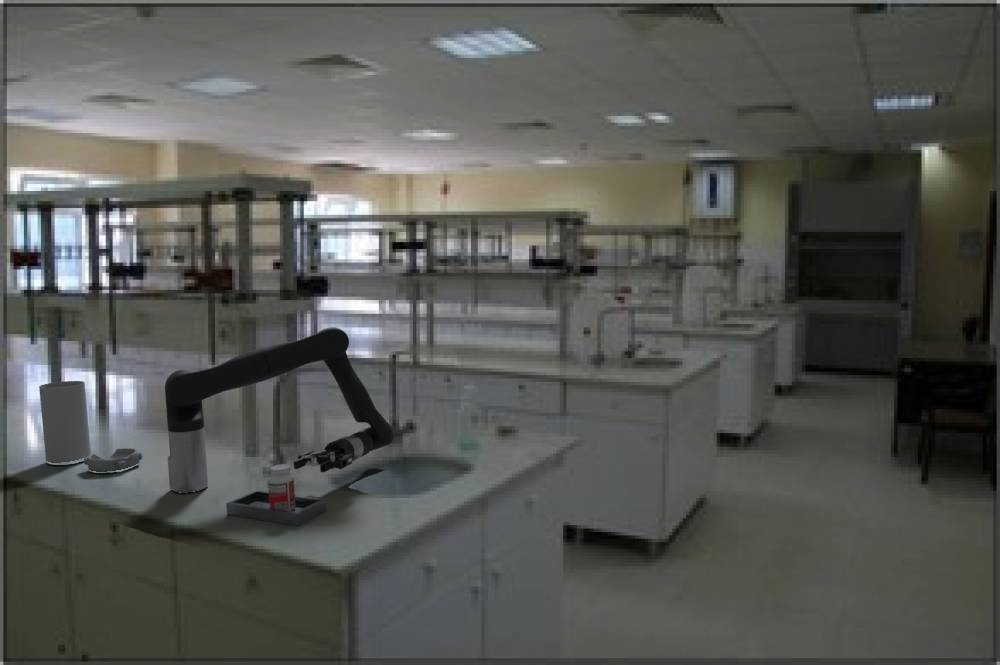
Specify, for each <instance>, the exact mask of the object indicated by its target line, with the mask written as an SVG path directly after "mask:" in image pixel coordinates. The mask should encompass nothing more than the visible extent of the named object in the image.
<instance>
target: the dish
mask: <svg viewBox="0 0 1000 665" xmlns="http://www.w3.org/2000/svg"><path fill="white" fill-rule="evenodd" d="M141 460H143V453H142V452H140V451H138V449H136V448H131V447H124V448H123V447H122V448H116V449H115V451H114V453H113V454H111V455H110V456H109V457H104V458H102V457H100V456H98V455H97V454H95V453H91V455H89V456H88V457H86V458H84V462H83V463H84V465H85V466H86V465H87V468H88V471H89V470H91V471H96V472H107V471H116V470H121V469H125V468H128V467H131V466H134V465H136V464H138V463H139V464H140V461H141Z"/></svg>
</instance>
